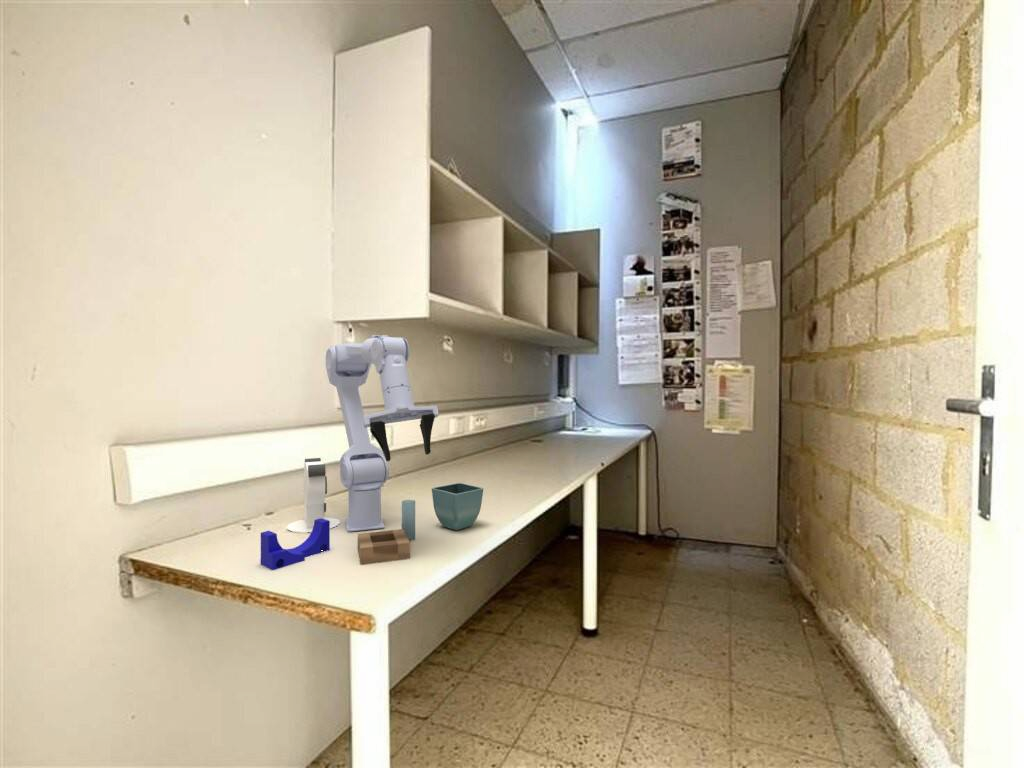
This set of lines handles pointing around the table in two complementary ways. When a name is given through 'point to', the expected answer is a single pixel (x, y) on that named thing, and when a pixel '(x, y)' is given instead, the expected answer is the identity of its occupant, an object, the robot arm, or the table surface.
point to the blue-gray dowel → (408, 518)
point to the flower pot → (457, 504)
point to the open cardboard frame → (383, 546)
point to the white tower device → (313, 497)
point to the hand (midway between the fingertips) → (408, 456)
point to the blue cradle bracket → (279, 557)
